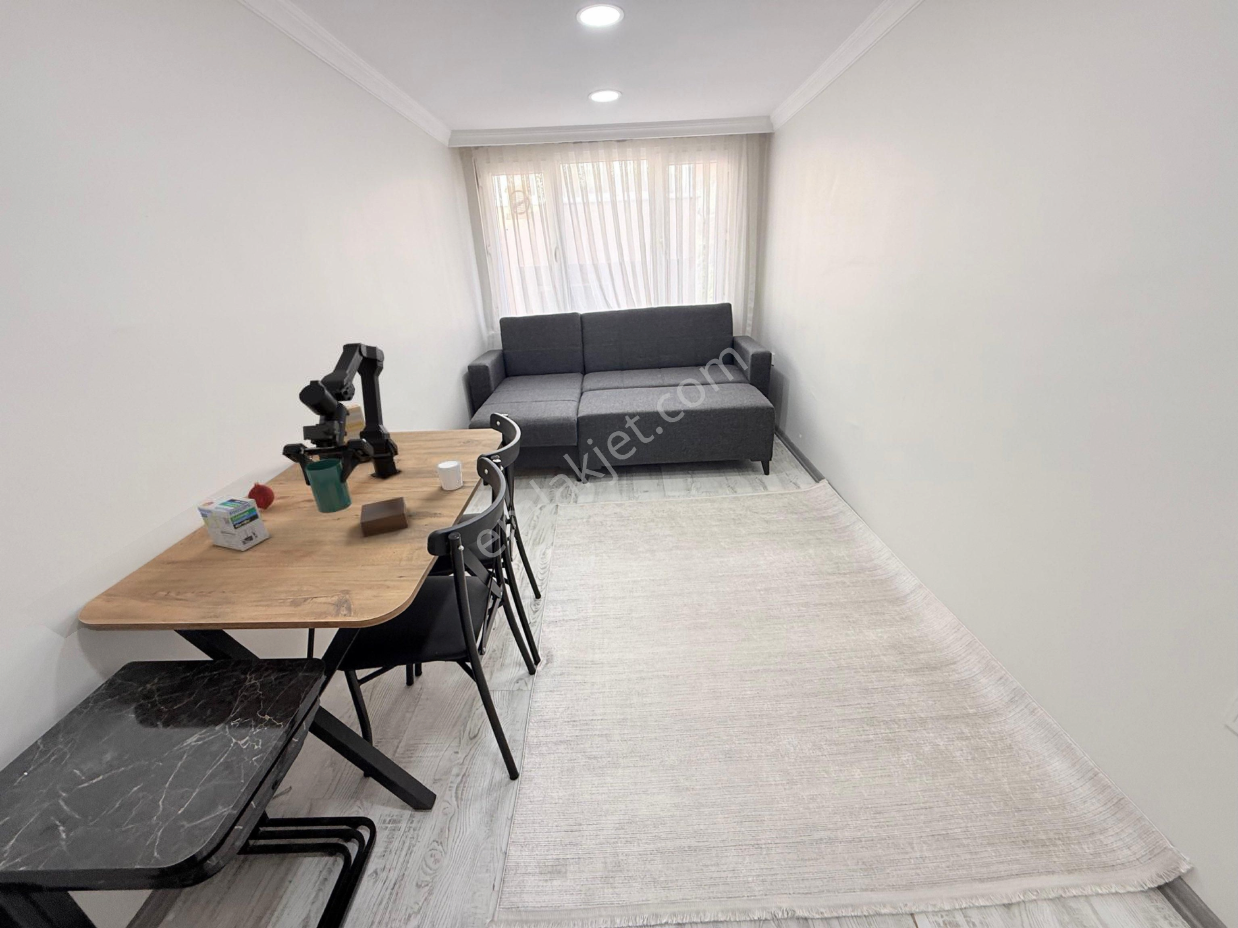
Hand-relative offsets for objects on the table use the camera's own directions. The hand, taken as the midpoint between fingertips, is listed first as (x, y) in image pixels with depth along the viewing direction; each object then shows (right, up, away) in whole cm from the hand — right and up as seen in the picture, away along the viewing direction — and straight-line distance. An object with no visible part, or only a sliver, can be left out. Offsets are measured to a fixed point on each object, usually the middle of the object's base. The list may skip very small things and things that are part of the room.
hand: (325, 483), depth 116 cm
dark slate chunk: (-20, +7, +52) cm, 56 cm away
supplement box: (-28, +13, +68) cm, 75 cm away
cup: (0, -6, +4) cm, 7 cm away
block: (+10, -10, +9) cm, 17 cm away
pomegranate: (-28, -8, +19) cm, 35 cm away
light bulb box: (-22, -14, +4) cm, 27 cm away
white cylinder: (+21, -2, +28) cm, 35 cm away
